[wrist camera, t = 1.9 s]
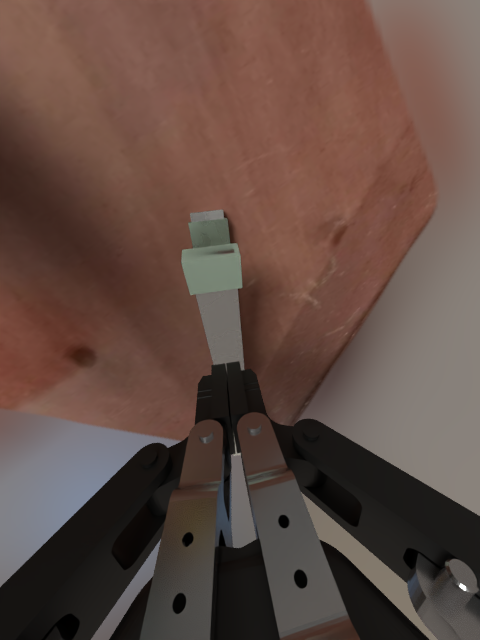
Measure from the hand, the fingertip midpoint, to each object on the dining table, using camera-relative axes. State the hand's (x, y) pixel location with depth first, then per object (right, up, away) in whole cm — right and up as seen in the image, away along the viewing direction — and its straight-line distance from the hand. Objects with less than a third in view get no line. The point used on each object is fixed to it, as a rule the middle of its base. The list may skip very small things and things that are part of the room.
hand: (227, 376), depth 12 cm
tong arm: (-1, +1, +10) cm, 10 cm away
